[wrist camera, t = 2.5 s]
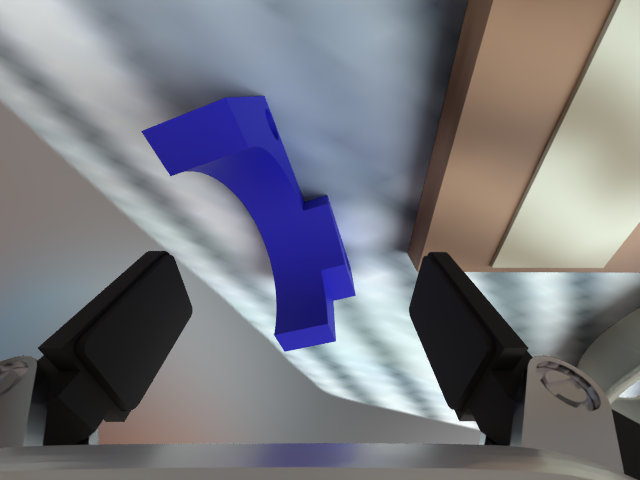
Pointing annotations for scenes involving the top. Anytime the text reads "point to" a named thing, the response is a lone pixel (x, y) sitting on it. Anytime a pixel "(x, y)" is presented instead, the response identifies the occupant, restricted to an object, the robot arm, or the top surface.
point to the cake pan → (616, 363)
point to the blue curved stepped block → (267, 208)
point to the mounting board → (538, 141)
